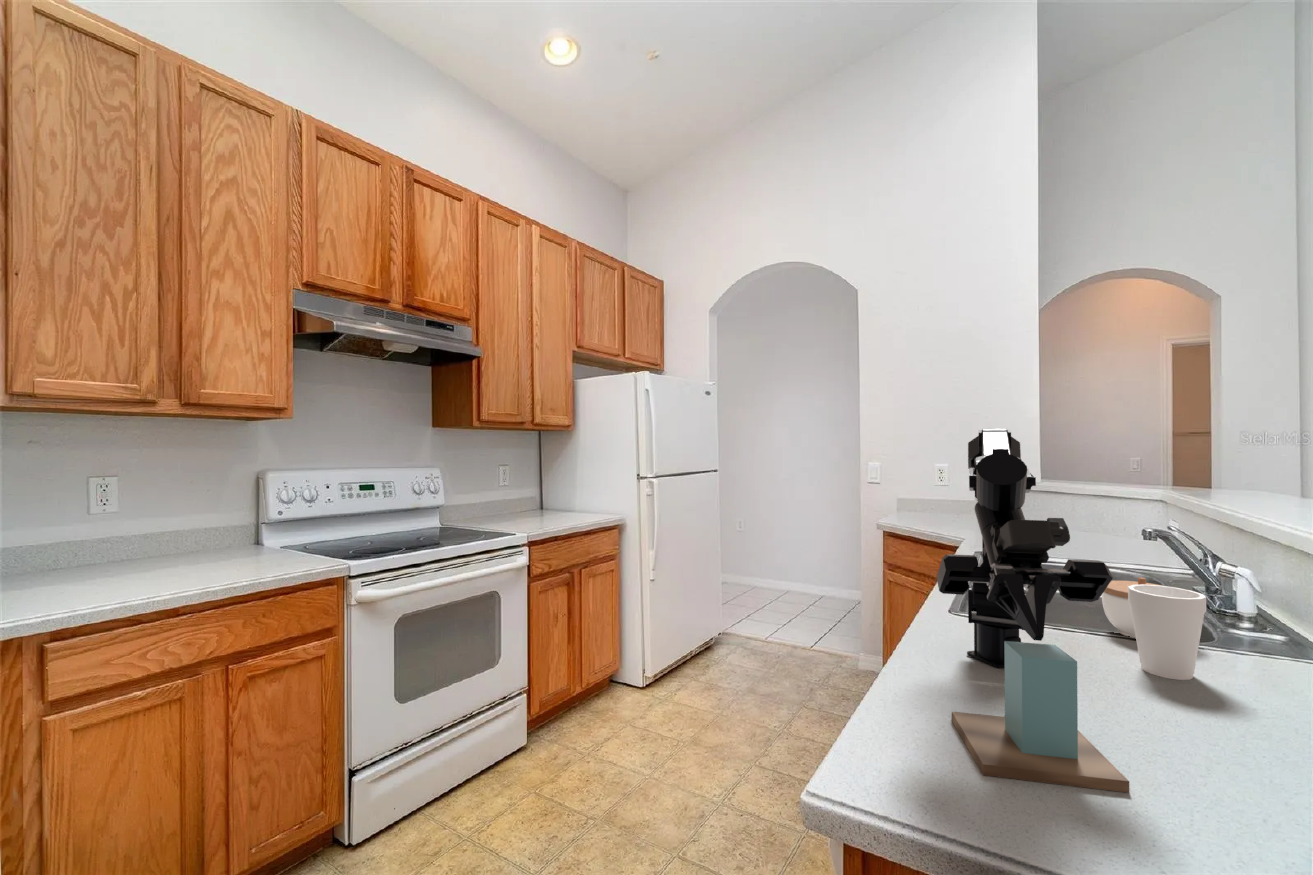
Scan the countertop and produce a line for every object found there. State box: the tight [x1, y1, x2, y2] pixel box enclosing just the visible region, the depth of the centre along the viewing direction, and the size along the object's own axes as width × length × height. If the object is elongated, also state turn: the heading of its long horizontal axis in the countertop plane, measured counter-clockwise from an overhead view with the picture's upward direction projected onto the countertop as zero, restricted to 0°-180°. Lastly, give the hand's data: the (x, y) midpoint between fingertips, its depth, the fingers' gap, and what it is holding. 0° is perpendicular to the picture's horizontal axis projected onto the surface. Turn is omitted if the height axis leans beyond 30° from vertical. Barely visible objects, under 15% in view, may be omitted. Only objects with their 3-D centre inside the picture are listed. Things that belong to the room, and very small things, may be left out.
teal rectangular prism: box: [1004, 641, 1079, 759], centre depth 69 cm, size 6×6×11 cm
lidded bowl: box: [1101, 577, 1164, 639], centre depth 111 cm, size 13×13×11 cm
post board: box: [951, 711, 1130, 794], centre depth 69 cm, size 13×14×5 cm
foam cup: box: [1128, 584, 1207, 681], centre depth 93 cm, size 10×9×13 cm
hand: (1038, 638), depth 69 cm, fingers closed
